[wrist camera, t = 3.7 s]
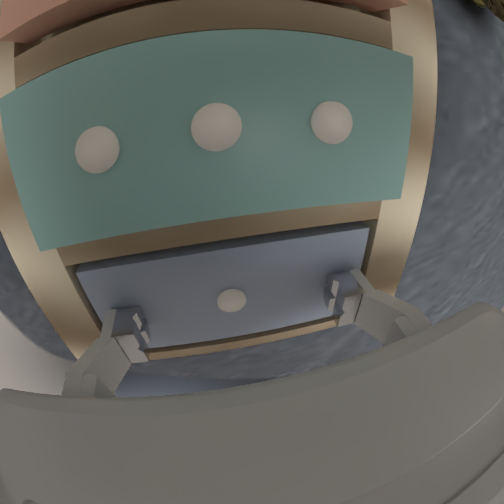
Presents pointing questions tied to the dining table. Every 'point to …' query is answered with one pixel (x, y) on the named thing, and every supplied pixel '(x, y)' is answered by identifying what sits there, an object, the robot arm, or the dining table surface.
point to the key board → (371, 213)
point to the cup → (491, 6)
